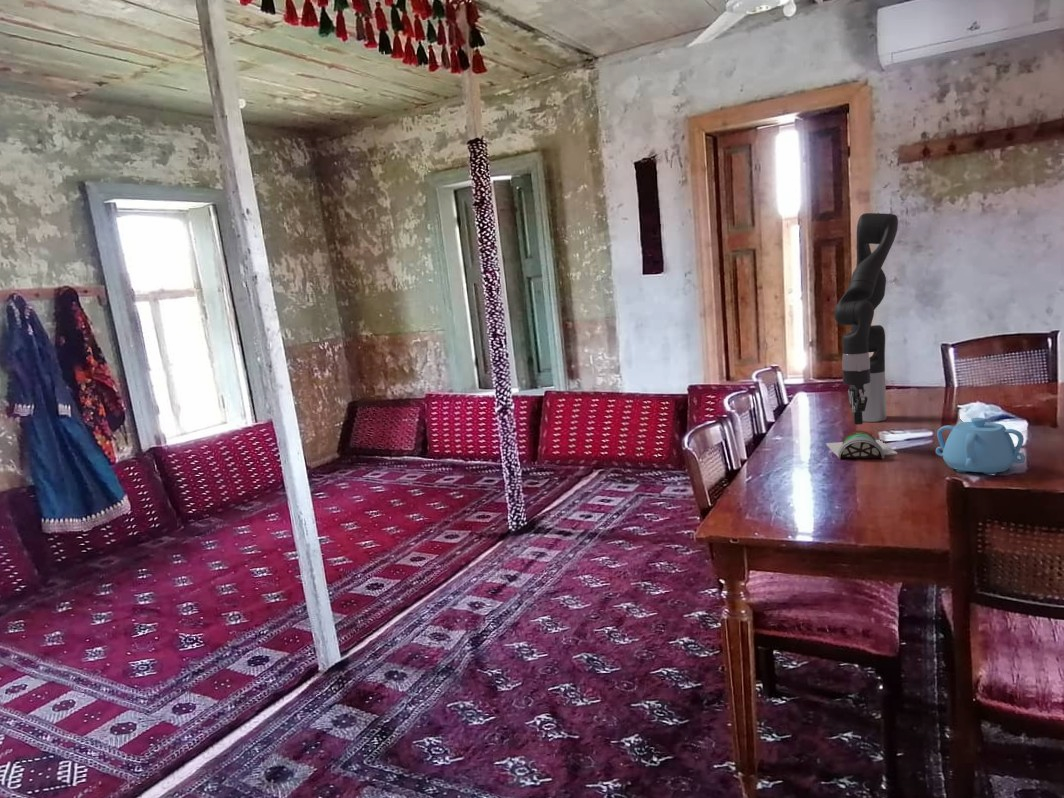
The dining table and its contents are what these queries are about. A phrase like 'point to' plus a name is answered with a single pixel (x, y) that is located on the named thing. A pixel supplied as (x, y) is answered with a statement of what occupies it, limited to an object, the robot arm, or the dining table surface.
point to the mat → (886, 448)
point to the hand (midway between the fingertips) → (858, 423)
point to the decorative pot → (980, 447)
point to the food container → (860, 446)
